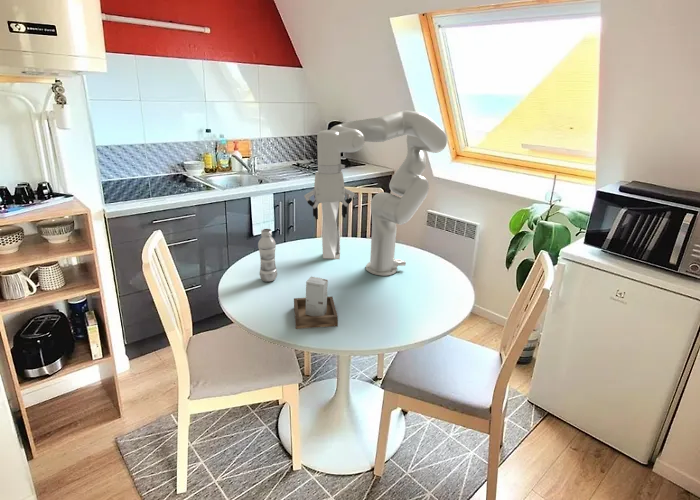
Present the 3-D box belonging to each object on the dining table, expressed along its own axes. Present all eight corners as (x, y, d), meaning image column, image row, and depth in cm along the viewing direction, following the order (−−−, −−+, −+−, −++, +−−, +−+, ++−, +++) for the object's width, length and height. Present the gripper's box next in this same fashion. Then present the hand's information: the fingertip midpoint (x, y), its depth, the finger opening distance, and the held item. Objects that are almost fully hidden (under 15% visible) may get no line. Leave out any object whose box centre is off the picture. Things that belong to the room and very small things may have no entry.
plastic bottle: (280, 277, 168) (278, 228, 160) (271, 285, 162) (269, 234, 154) (265, 274, 170) (263, 226, 162) (256, 282, 164) (253, 232, 156)
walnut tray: (332, 305, 150) (332, 296, 149) (337, 326, 138) (337, 316, 137) (294, 307, 148) (293, 298, 147) (296, 328, 136) (295, 319, 135)
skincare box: (305, 315, 142) (304, 281, 137) (310, 308, 146) (310, 275, 141) (322, 318, 140) (323, 285, 135) (327, 311, 144) (328, 278, 139)
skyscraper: (339, 261, 185) (341, 196, 174) (320, 260, 185) (320, 196, 174) (340, 253, 192) (341, 191, 182) (321, 252, 192) (322, 190, 182)
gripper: (352, 165, 151) (352, 212, 158) (302, 167, 148) (304, 215, 155) (357, 170, 144) (356, 219, 151) (304, 172, 141) (306, 222, 148)
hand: (330, 217), depth 153 cm, fingers open, 9 cm apart
